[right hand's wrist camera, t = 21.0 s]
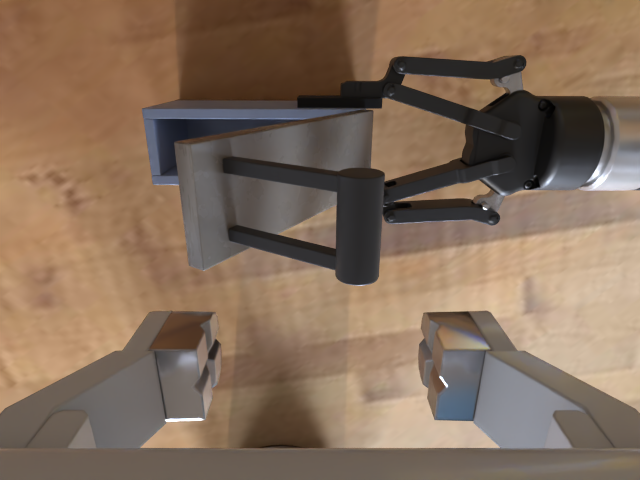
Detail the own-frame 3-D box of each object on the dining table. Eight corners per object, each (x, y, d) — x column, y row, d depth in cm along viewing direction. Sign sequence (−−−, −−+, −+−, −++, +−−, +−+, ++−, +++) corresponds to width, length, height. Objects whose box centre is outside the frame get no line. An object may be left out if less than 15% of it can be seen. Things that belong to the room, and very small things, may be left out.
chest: (185, 161, 43) (152, 184, 35) (178, 99, 41) (141, 108, 32) (355, 162, 43) (363, 185, 35) (357, 100, 41) (366, 109, 32)
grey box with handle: (188, 266, 21) (351, 320, 16) (173, 141, 18) (357, 165, 14) (358, 186, 34) (471, 204, 30) (361, 109, 32) (483, 116, 28)
